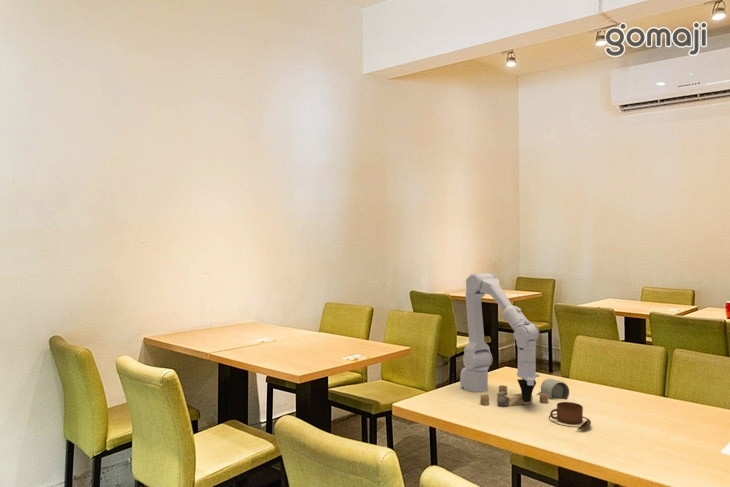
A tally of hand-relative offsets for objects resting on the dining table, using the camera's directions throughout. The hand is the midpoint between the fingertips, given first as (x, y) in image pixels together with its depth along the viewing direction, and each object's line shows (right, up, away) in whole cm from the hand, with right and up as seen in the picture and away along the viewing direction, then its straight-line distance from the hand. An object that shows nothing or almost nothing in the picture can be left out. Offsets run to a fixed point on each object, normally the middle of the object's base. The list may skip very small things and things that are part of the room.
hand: (526, 401), depth 179 cm
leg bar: (-4, -1, +1) cm, 4 cm away
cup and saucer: (+9, -3, -15) cm, 17 cm away
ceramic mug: (+12, -3, +10) cm, 16 cm away
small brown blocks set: (-4, -2, +2) cm, 5 cm away
